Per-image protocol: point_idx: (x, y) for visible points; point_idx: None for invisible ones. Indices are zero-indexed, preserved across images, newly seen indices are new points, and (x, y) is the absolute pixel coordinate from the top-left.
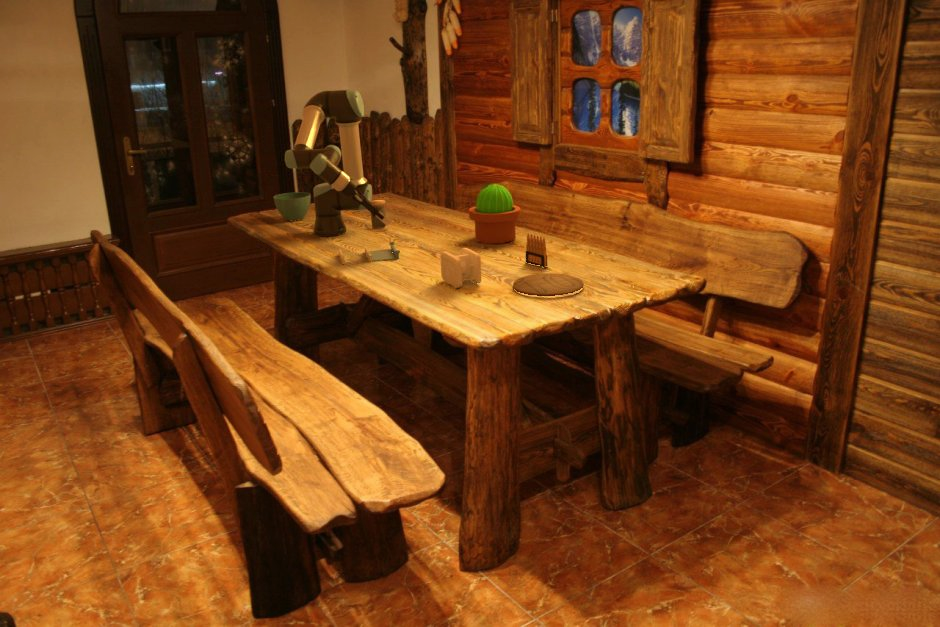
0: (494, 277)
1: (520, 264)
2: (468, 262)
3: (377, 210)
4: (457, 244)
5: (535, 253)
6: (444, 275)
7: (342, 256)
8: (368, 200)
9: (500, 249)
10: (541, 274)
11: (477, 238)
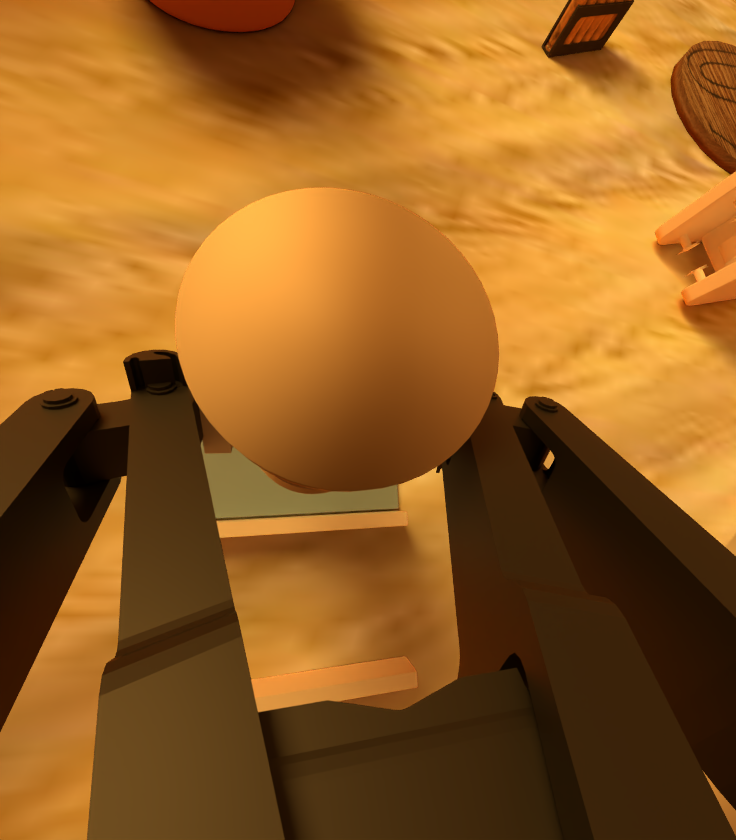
0: (659, 178)
1: (557, 73)
2: None
3: (561, 407)
4: (233, 110)
5: (610, 3)
6: (722, 296)
7: (372, 686)
8: (18, 495)
9: (375, 32)
10: (688, 83)
11: (224, 16)
